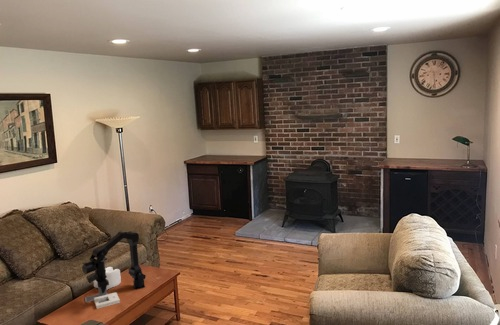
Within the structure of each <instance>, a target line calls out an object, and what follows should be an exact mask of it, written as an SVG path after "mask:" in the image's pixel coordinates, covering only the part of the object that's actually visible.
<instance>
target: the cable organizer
mask: <svg viewBox="0 0 500 325" xmlns="http://www.w3.org/2000/svg"><path fill="white" fill-rule="evenodd" d="M113 268H114V267H112V266H108V267H105V269H106V277H107V278H106V279H107V280H108V282H109V285H107V287H106V288H107V291H108V289H109V290H111V288H114V287H117V286H118V285H120V284H121V282H122V278H121V276H122V275H121V270H120V269H119V268H115V269H113ZM93 287H94V288H95V289H96V288H97V289H98V285H97V281H96V280H94V281H93Z"/></svg>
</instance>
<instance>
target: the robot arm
mask: <svg viewBox="0 0 500 325" xmlns="http://www.w3.org/2000/svg"><path fill="white" fill-rule="evenodd" d="M125 239H126V241H127V244H128V245H129V254H130V267H128V268H127V269H128V274H129V276H131V277H132V279H133V281H132V285H133V288H134V289H135V290H139V289H143V288H146V285H145V279H146V276H147V275H146V274H144V273H143V271H142V267H141V266H140V264H139V263H140V262H139V254H138V253H139V252H138V243H139V240H140V234H139V233H137V232H134V231H128V232H127V231H118V232H117V234H115V235H114V236H113V237H111V238H110V239H109V240H108V241H107V242H105V243H104V244H103V245H99V246H97V247H95V248H94V249H93V251H92V253H91V255H90V257H89V259H88V261H87V262H83V265H82V267H81V270H82V272H83V274H84V275H87V274H89V273H90V274H89V275H87V276H86V280H87V281H88V283H89V284H92V282H93V281H94V280H96V281H97V285H98V287H101V290H102V293H104V292H105V289H106V287H107V285H109V282H108V280H107V279H106V278H107V277H106V269H105V268H106V264H105V263H106V262H105V261H107V260H108V258H107V257H106V256H107V255H108V252H109V251H110V250H111V249H112V248H114V247H115V246H116V245H117V244H119V242H121V241H122V240H125ZM93 283H94V282H93Z"/></svg>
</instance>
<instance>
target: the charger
mask: <svg viewBox="0 0 500 325" xmlns="http://www.w3.org/2000/svg"><path fill="white" fill-rule="evenodd" d="M97 290H98V294H99V295H103V294H108V290H107V288H106V289H105V292H104V293H102V290H101V287H98V288H97Z"/></svg>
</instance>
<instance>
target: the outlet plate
mask: <svg viewBox="0 0 500 325" xmlns="http://www.w3.org/2000/svg"><path fill="white" fill-rule="evenodd" d="M107 294H108V295H104V296H100V297H96V298H94V301H93V302H94V304H95V308H96V310H98V309H101V308H106V307H109V306H113V305H118V304H121V299H120V297H119V296H118V292H112V293H107Z"/></svg>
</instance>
